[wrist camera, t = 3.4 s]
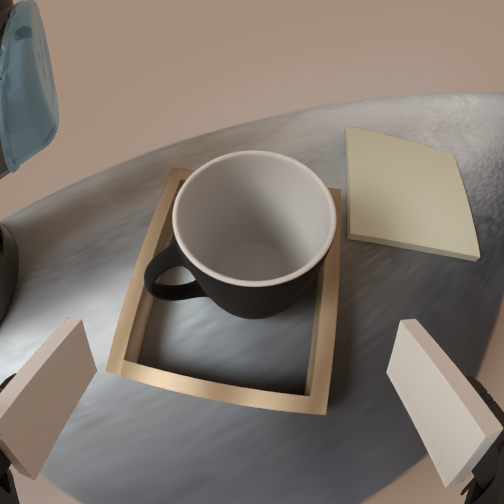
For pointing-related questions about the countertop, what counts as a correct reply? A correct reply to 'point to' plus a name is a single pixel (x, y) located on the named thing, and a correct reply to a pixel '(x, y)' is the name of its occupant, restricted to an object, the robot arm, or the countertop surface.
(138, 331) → the rectangular wooden frame
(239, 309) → the mug
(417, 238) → the tile
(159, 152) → the countertop surface
